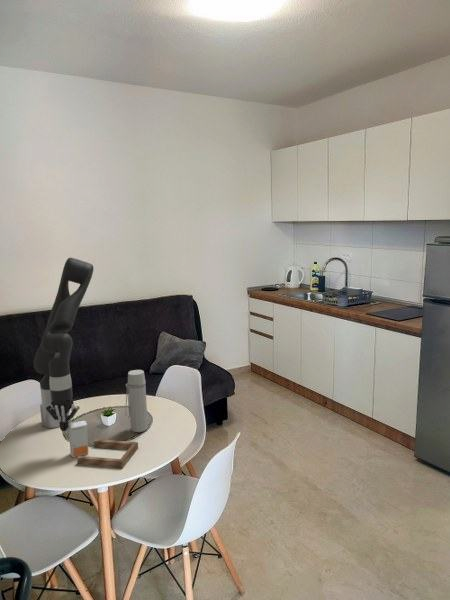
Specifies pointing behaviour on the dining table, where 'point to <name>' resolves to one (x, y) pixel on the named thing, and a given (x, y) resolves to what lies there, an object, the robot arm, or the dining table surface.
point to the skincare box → (78, 438)
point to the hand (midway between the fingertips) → (64, 430)
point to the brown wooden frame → (110, 462)
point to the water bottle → (137, 400)
